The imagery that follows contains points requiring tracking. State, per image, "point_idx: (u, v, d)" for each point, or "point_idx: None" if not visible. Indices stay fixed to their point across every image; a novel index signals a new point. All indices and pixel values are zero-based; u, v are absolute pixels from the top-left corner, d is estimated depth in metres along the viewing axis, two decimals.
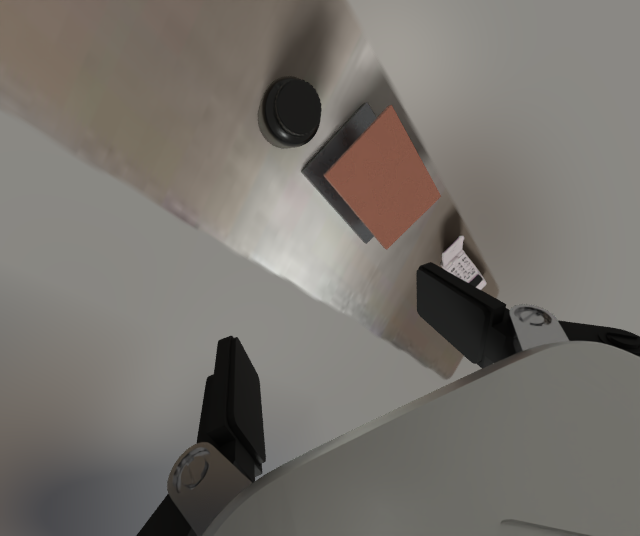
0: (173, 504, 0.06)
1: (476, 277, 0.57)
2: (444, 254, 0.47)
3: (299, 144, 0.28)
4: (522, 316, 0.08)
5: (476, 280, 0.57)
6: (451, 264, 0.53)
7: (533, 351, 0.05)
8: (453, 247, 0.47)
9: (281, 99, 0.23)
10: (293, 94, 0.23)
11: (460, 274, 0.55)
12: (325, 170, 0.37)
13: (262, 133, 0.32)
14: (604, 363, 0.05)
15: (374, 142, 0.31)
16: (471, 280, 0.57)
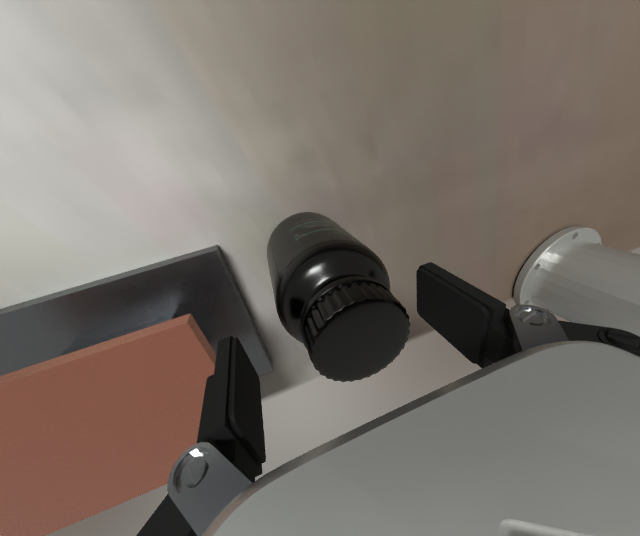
0: (173, 504, 0.06)
1: None
2: None
3: (283, 294, 0.12)
4: (522, 316, 0.08)
5: None
6: None
7: (533, 351, 0.05)
8: None
9: (395, 316, 0.10)
10: (387, 339, 0.11)
11: None
12: (200, 291, 0.18)
13: (310, 215, 0.18)
14: (604, 363, 0.05)
15: None
16: None
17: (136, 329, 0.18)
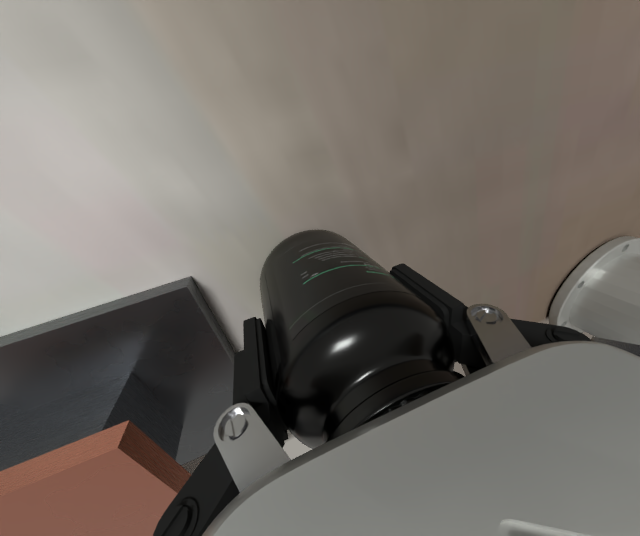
0: (218, 453, 0.07)
1: None
2: None
3: (288, 391, 0.07)
4: (478, 316, 0.08)
5: None
6: None
7: (533, 351, 0.05)
8: None
9: None
10: None
11: None
12: (167, 341, 0.13)
13: (320, 235, 0.13)
14: (604, 363, 0.05)
15: None
16: None
17: (74, 399, 0.12)
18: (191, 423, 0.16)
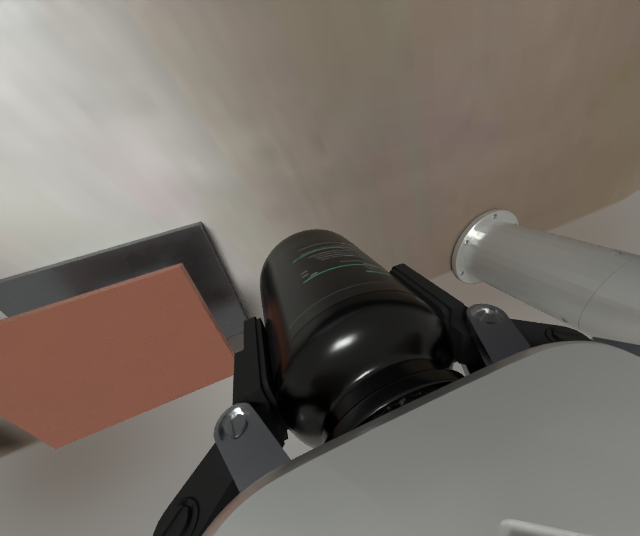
0: (218, 454, 0.07)
1: None
2: None
3: (288, 390, 0.07)
4: (478, 316, 0.08)
5: None
6: None
7: (533, 351, 0.05)
8: None
9: None
10: None
11: None
12: (188, 258, 0.23)
13: (320, 234, 0.13)
14: (604, 363, 0.05)
15: (203, 348, 0.20)
16: None
17: None
18: None
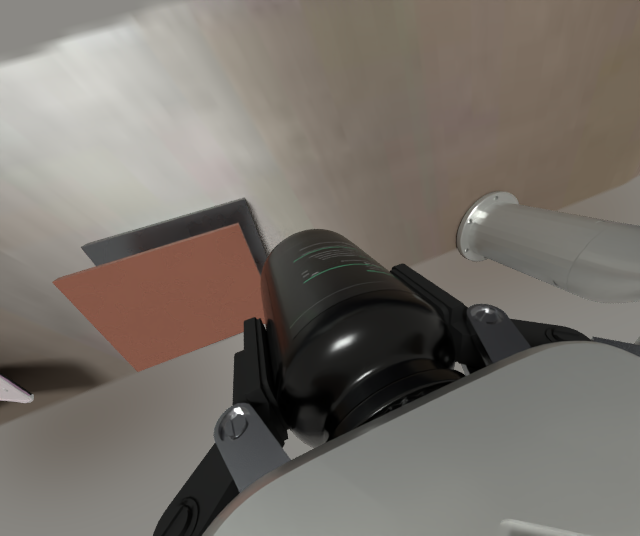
0: (218, 454, 0.07)
1: None
2: None
3: (289, 390, 0.07)
4: (478, 316, 0.08)
5: None
6: None
7: (533, 351, 0.05)
8: (5, 388, 0.25)
9: None
10: None
11: None
12: None
13: (321, 234, 0.13)
14: (604, 363, 0.05)
15: (250, 295, 0.25)
16: None
17: None
18: None
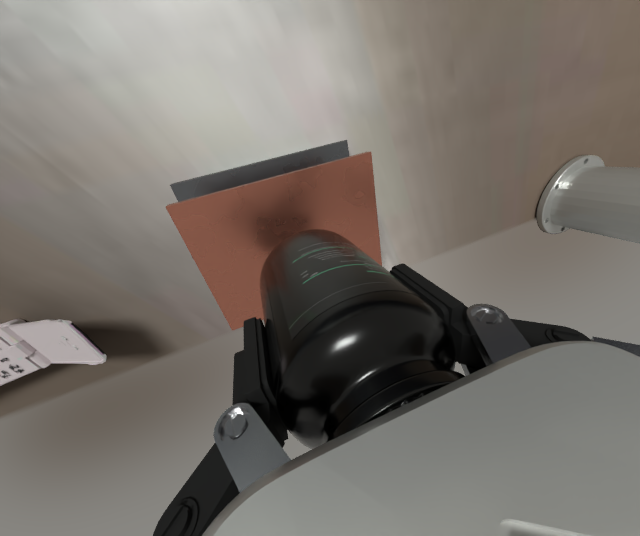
0: (218, 453, 0.07)
1: None
2: (63, 325, 0.20)
3: (288, 391, 0.07)
4: (478, 316, 0.08)
5: None
6: (9, 342, 0.22)
7: (533, 351, 0.05)
8: (76, 344, 0.22)
9: None
10: None
11: None
12: None
13: (320, 234, 0.13)
14: (604, 363, 0.05)
15: (363, 244, 0.22)
16: None
17: None
18: None
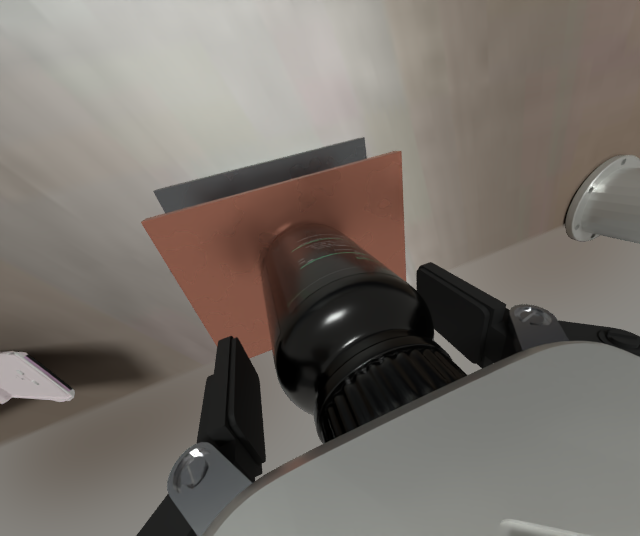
0: (173, 504, 0.06)
1: None
2: (16, 358, 0.16)
3: (286, 357, 0.08)
4: (522, 316, 0.08)
5: None
6: None
7: (533, 351, 0.05)
8: (36, 379, 0.18)
9: None
10: None
11: None
12: None
13: (317, 228, 0.14)
14: (604, 363, 0.05)
15: (386, 262, 0.19)
16: None
17: None
18: None
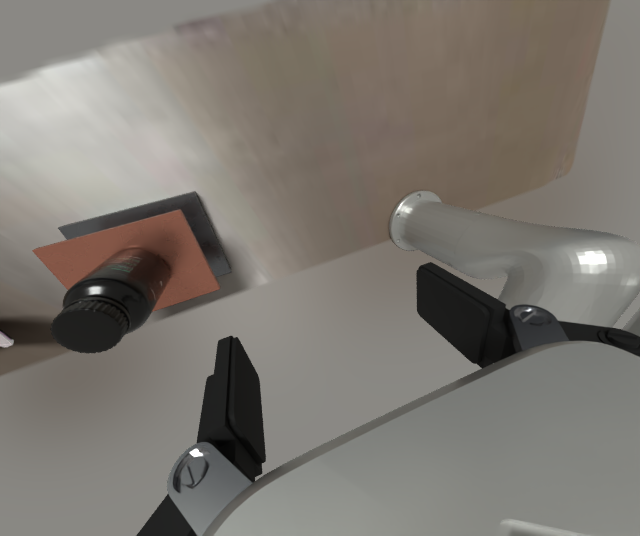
0: (173, 504, 0.06)
1: None
2: None
3: None
4: (522, 316, 0.08)
5: None
6: None
7: (533, 351, 0.05)
8: None
9: (101, 318, 0.20)
10: (104, 330, 0.20)
11: None
12: (186, 215, 0.35)
13: (126, 252, 0.27)
14: (604, 363, 0.05)
15: (194, 268, 0.32)
16: None
17: None
18: None
